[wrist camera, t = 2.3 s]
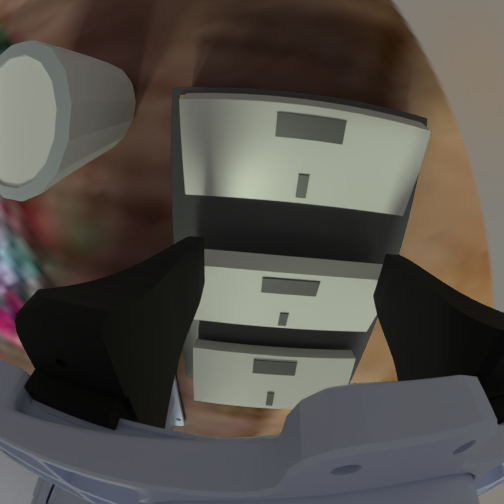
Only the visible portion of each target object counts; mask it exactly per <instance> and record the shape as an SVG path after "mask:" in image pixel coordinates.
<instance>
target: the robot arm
mask: <svg viewBox="0 0 504 504" xmlns="http://www.w3.org/2000/svg"><path fill="white" fill-rule="evenodd" d="M204 284H205V263H204V237H194V236H188V237H186V238H184V239H182V240H180V241H179V242H177V243H175V244H174V245H172V246H170V247H169V248H167V249H165V250H163V251H162V252H160V253H158V254H157V255H155V256H153V257H151V258H149V259H147V260H145V261H143V262H142V263H140V264H137V265H135V266H133V267H131V268H128V269H126V270H124V271H121V272H119V273H116V274H113V275H110V276H106V277H103V278H100V279H97V280H93V281H89V282H85V283H81V284H76V285H71V286H65V287H57V288H48V289H39V290H37V291H36V293H35V294H34V295H33V296H32V297H31V298H30V299H29V300H28V301H27V302H26V304H25V305H24V306H23V307H22V308H21V309H20V310H19V311H18V313H17V314H16V318H15V325H16V331H17V334H18V336H19V339H20V341H21V343H22V345H23V347H24V349H25V351H26V353H27V355H28V356H29V358H30V360H31V362H32V364H33V365H34V367H35V370H34V372H33V373H32V375H31V376H30V375H29V374H28V373H27V372H26V371H24V370H22V369H21V368H19V367H16V366H14V365H12V364H10V363H8V362H6V361H4V360H0V451H1V452H2V453H4V454H5V455H6V456H7V457H9V458H11V459H12V460H14V461H15V462H17V463H18V464H20V465H22V466H23V467H25V468H27V469H28V470H30V471H31V472H33V473H35V474H37V475H38V476H39V479H38V481H37V484H36V487H35V489H34V492H33V496H34V497H33V500H32V503H31V504H479V499H478V496H480V495H481V494H484V493H486V492H488V491H489V490H491V489H493V488H495V487H497V486H499V485H501V484H502V483H504V313H503V312H500V311H498V310H495V309H493V308H490V307H488V306H486V305H483V304H481V303H479V302H477V301H475V300H473V299H471V298H469V297H467V296H465V295H464V294H462V293H460V292H458V291H456V290H455V289H453V288H452V287H450V286H448V285H447V284H445V283H444V282H442V281H440V280H439V279H437V278H436V277H434V276H433V275H431V274H430V273H428V272H427V271H425V270H424V269H422V268H421V267H419V266H418V265H416V264H415V263H413V262H412V261H410V260H408V259H406V258H405V257H403V256H400V255H394V254H386V255H385V258H384V262H383V265H382V269H381V272H380V275H379V279H378V282H377V285H376V288H375V291H374V294H373V298H374V303H375V308H376V312H377V316H378V319H379V321H380V324H381V327H382V330H383V332H384V335H385V338H386V340H387V343H388V346H389V349H390V351H391V354H392V357H393V360H394V364H395V368H396V373H397V378H398V381H393V382H373V383H353V384H347V385H341V386H335V387H329V388H326V389H324V390H322V391H319V392H317V393H315V394H313V395H311V396H309V397H306V398H304V399H302V400H301V401H300V402H299V403H298V404H297V405H296V406H295V407H294V409H293V410H292V411H291V412H290V413H289V414H288V415H287V417H286V420H285V423H284V426H283V429H282V432H281V433H280V434H278V435H267V436H256V437H240V438H216V437H209V436H202V435H195V434H189V433H183V432H178V431H173V430H174V427H175V425H178V426H184V424H185V420H184V415H183V411H182V406H181V401H180V396H179V391H178V386H177V381H176V375H175V374H176V370H177V366H178V362H179V358H180V354H181V351H182V348H183V345H184V342H185V340H186V337H187V335H188V332H189V329H190V327H191V324H192V322H193V319H194V317H195V314H196V312H197V309H198V307H199V304H200V301H201V297H202V293H203V288H204Z"/></svg>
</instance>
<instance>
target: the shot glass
mask: <svg viewBox="0 0 504 504" xmlns="http://www.w3.org/2000/svg"><path fill="white" fill-rule="evenodd" d="M135 105H136V99H135V94H134V89H133V84H132V82H131V81H130V79H129V78H128V77H127V75H126V74H125V72H124V71H123V70H122V69H120V68H118V67H116V66H114V65H112V64H110V63H107V62H105V61H102V60H99V59H96V58H93V57H90V56H87V55H84V54H81V53H77V52H74V51H71V50H68V49H64V48H61V47H57V46H54V45H50V44H46V43H42V42H39V41H35V40H31V41H26V42H22V43H18V44H15V45H12V46H11V47H9V48H8V49H7V50H6V51H5V52H4V53H2V54H1V55H0V195H2V196H3V197H4V198H8V199H13V200H17V201H25V200H27V199H29V198H32V197H34V196H37V195H39V194H41V193H43V192H44V191H45V190H47V189H48V188H50V187H51V186H53V185H54V184H55V183H57V182H58V181H60V180H61V179H63V178H64V177H66V176H67V175H69V174H71V173H72V172H74V171H75V170H77V169H78V168H80V167H82V166H83V165H85V164H86V163H88V162H90V161H91V160H93V159H95V158H96V157H98V156H100V155H101V154H103V153H105V152H107V151H108V150H110V149H112V148H113V147H114V146H115V145H116V144H117V143H118V142H119V141H121V140H122V139H123V138H124V137H125V135H126V133H127V131H128V129H129V127H130V125H131V123H132V122H133V118H134V111H135Z"/></svg>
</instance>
